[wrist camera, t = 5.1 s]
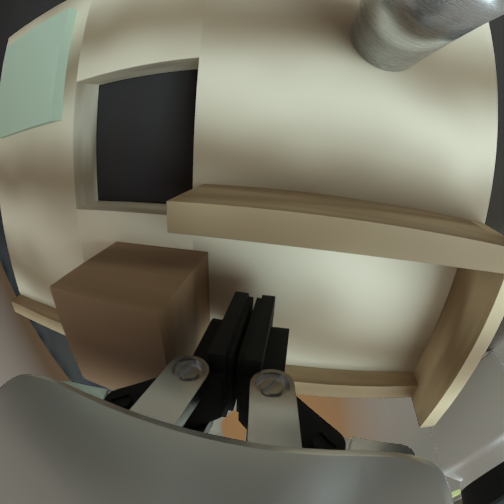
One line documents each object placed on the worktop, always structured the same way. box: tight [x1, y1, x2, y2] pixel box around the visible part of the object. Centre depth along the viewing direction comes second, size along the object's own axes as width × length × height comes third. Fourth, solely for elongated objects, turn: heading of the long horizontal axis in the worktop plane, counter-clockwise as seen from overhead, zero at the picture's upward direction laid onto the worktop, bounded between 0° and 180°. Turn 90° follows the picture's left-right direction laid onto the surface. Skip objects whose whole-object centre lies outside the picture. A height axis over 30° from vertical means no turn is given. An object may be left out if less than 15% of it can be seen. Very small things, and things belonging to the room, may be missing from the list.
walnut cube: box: [50, 242, 210, 390], centre depth 11 cm, size 5×5×5 cm
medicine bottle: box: [429, 351, 504, 504], centre depth 10 cm, size 7×7×12 cm
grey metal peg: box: [350, 0, 504, 72], centre depth 5 cm, size 3×3×7 cm
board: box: [0, 0, 504, 428], centre depth 11 cm, size 22×30×6 cm
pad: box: [0, 8, 78, 139], centre depth 10 cm, size 7×7×1 cm
